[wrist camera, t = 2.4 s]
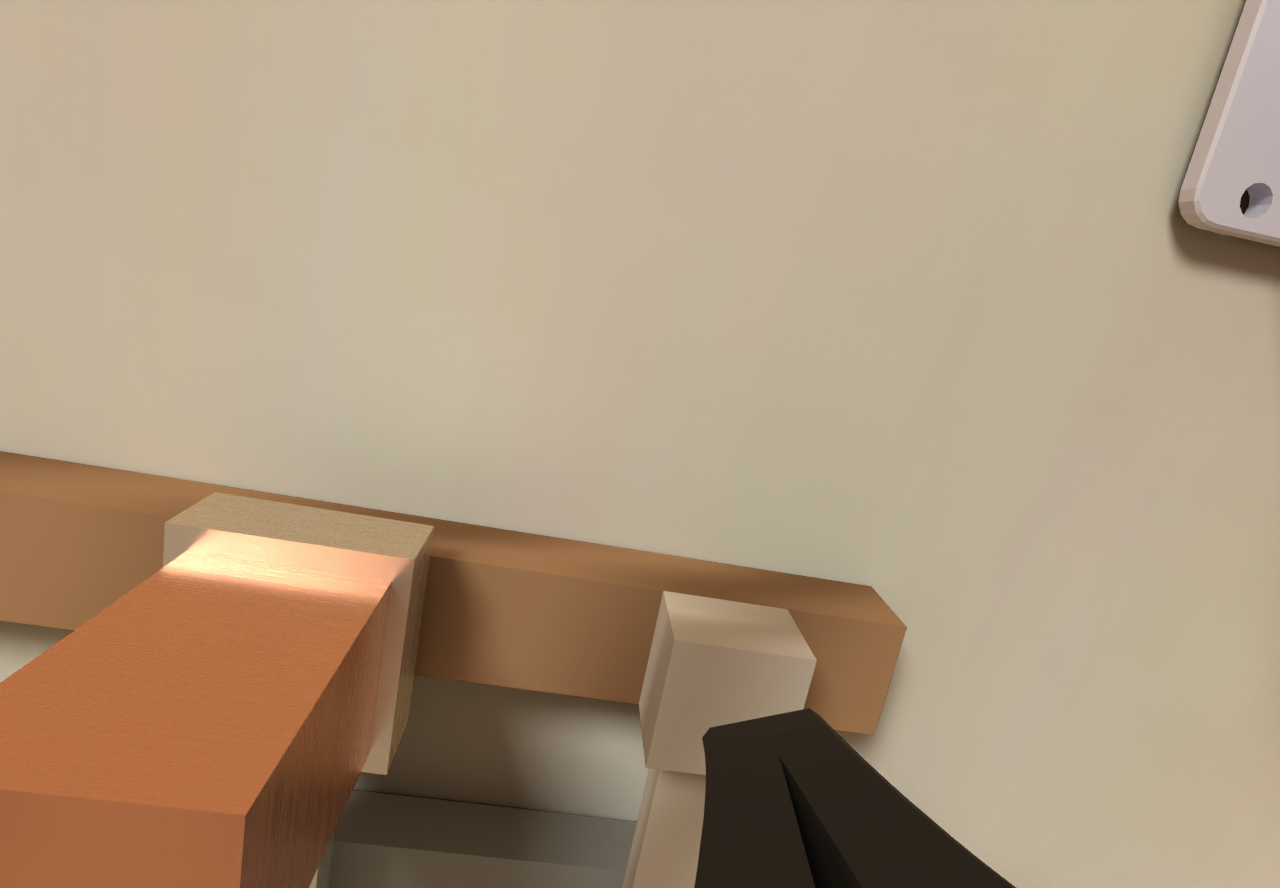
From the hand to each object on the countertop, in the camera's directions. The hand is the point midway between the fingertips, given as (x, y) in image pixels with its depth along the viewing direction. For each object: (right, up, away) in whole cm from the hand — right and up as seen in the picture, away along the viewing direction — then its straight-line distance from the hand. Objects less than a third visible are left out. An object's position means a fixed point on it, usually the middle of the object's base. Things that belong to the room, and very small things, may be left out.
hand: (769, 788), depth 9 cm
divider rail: (-7, -2, +4) cm, 9 cm away
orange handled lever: (-7, -2, +3) cm, 8 cm away
